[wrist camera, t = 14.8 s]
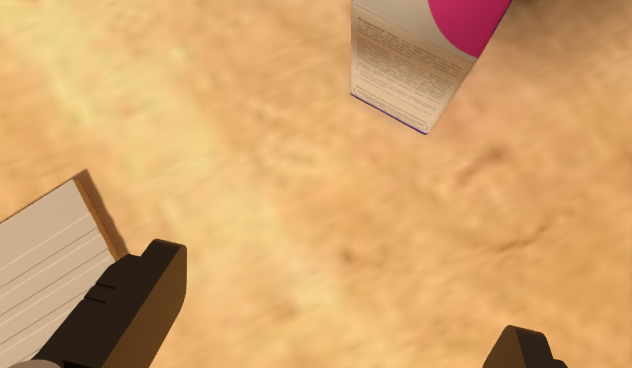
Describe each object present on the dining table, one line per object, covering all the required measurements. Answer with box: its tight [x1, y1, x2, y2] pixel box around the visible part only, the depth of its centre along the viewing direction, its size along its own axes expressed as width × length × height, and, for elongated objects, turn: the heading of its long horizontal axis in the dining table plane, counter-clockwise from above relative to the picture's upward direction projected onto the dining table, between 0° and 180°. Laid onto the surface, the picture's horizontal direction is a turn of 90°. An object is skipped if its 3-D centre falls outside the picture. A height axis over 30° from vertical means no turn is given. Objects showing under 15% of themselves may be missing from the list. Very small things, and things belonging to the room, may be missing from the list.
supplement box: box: [350, 0, 512, 135], centre depth 24 cm, size 6×6×12 cm
